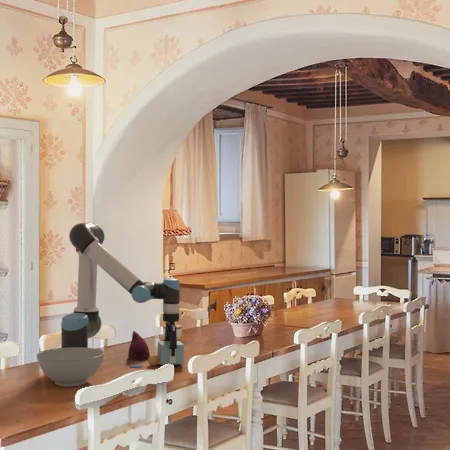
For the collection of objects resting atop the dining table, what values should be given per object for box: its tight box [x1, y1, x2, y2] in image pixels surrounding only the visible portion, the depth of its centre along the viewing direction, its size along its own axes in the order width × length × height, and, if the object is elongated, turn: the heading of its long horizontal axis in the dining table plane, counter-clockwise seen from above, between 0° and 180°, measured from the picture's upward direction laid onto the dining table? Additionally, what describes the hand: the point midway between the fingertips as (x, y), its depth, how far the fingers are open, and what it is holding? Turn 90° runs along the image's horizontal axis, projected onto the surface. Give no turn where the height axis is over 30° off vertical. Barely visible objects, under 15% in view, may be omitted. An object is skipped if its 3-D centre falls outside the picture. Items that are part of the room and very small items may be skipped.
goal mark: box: [128, 364, 143, 369], centre depth 312 cm, size 6×6×1 cm
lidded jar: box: [162, 323, 183, 341], centre depth 381 cm, size 11×11×9 cm
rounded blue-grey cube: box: [156, 340, 185, 366], centre depth 316 cm, size 10×10×9 cm
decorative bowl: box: [36, 347, 105, 387], centre depth 280 cm, size 27×27×12 cm
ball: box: [147, 354, 160, 367], centre depth 314 cm, size 5×5×5 cm
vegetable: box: [127, 330, 151, 361], centre depth 330 cm, size 10×10×15 cm
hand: (170, 360), depth 316 cm, fingers closed on rounded blue-grey cube, 10 cm apart
